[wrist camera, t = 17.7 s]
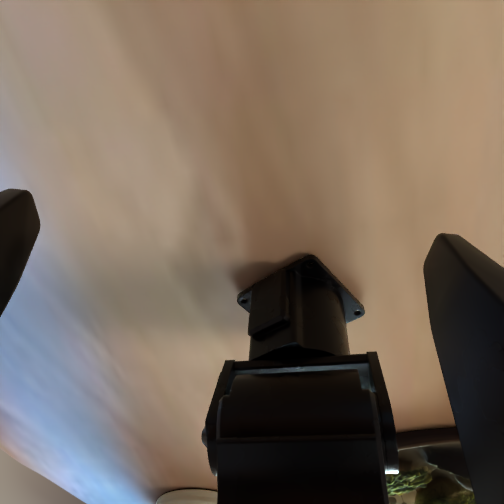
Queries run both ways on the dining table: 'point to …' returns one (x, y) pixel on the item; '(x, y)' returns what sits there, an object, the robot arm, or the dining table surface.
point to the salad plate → (430, 469)
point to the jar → (189, 497)
